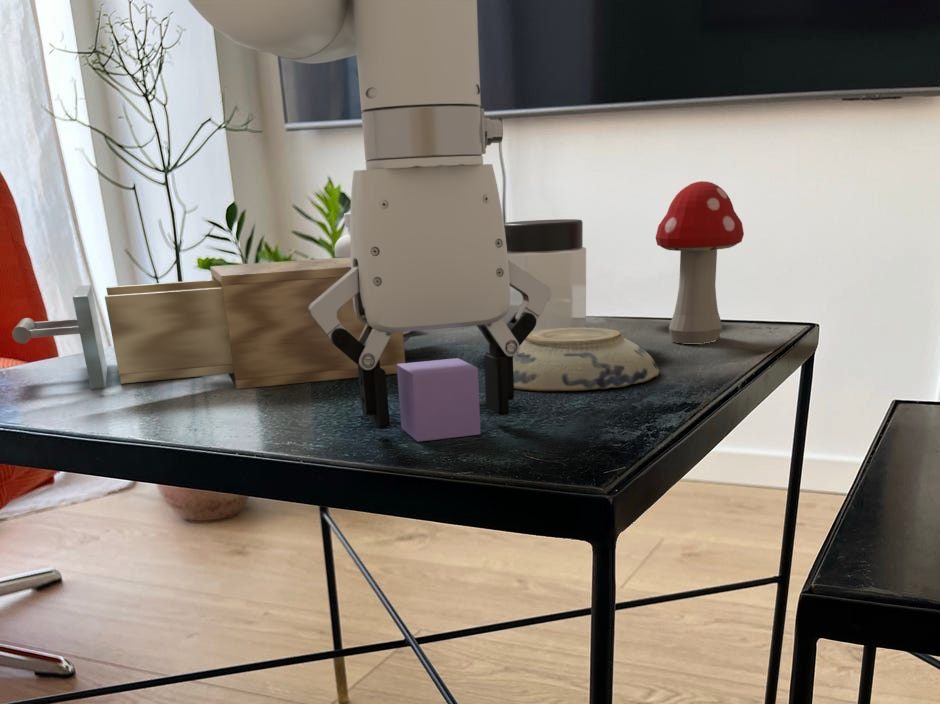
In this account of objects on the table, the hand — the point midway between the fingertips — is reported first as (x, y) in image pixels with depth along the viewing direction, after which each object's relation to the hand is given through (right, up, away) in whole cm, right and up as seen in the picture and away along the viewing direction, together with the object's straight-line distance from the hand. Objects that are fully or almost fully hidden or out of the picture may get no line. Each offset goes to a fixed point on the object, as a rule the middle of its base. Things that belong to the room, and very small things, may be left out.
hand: (439, 416), depth 72 cm
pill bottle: (-8, +17, +41) cm, 45 cm away
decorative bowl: (+11, +8, +18) cm, 23 cm away
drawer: (-28, +9, +22) cm, 37 cm away
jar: (+10, +15, +34) cm, 38 cm away
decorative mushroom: (+25, +15, +33) cm, 44 cm away
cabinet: (-13, +10, +26) cm, 31 cm away
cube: (0, -1, 0) cm, 1 cm away
